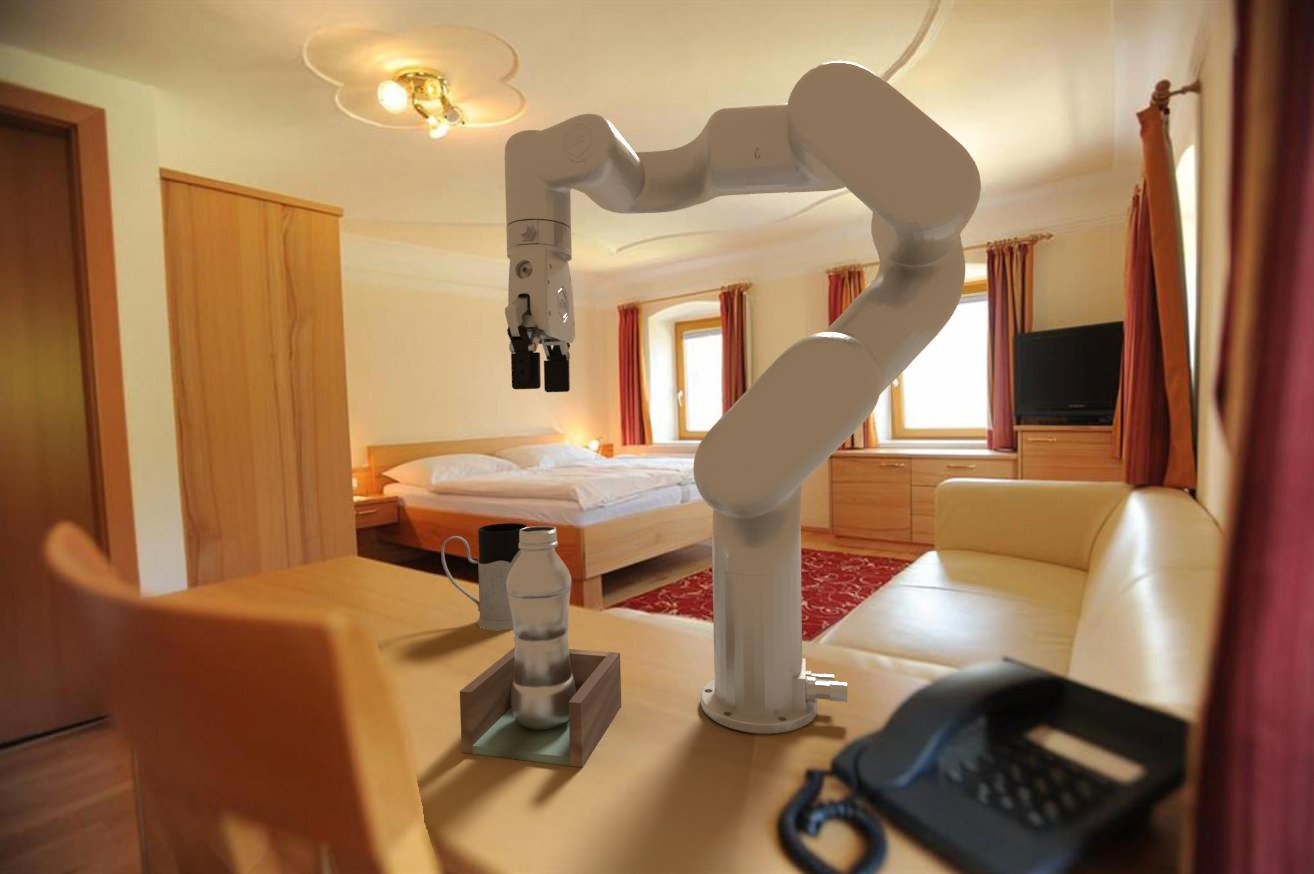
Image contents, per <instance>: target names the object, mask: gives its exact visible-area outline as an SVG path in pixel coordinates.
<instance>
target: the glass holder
mask: <svg viewBox="0 0 1314 874" xmlns="http://www.w3.org/2000/svg"><path fill="white" fill-rule="evenodd" d="M526 527H528V526H527V524H523V523H517V522H513V523H512V522H509V523H507V522H506V523H503V522H502V523H495V524H488V525H483V526H481V527H478V528H477V529H478V530H477V533H478V538H477V539H478V560H474V559H472V557H471V548H470V545H469V543H468V541H467V540H466V539H465V538H463V537H462V536H458V535H453V536H450V537H448V538H447V539H445V540H444V541H443V542H442V545H441V550H440V551H441V552H440V555H441V563H442V566H443V571H444V572H445V574H446V576H447V578H448V579H449V582H450V583H451V584H452V585H453V586H454V587H455V588H456V589H458V590H459V591H460V592H461V593H462V594H464V595H465V596H466V597H467V598H469V599H470V600H471V601H473V602H474V603H475V604H476V605H477V608H478V609H477V610H478V612H479V617H478V620H477V623H476V625H477V624H478V626H479V627H481V628H484V629H486V630H485V631H489V630H494V631H493V632H497V631H498V632H501V631H503V630H505V631H510V630H512V631H513V621H512V614H511V609H510V604H509V599H508V593H507V586H506V581H507V577H508V574H509V572H510V570H511V568H512V567H513V565H514V563H515V562H516V561H517V559H518V558H519V556H520V555H521V552H522V549H519V542H520V537H519V532H520V529H522V528H526ZM453 539H454V540H455V539H458V540H460V541H461V542H462V543H463V544H464V546H465V548H466V549H465V550H466V556H467V559H468V561H469V563H472V564H477V565H478V566H477V567H478V572H477V573H478V594H479V595H478V596H479V597H478V599H479V600H478V599H476V598H475V597H474V596H473V595H472V594H471V593H469V592H468V591H466V590H465V589H464V588H463V587H462V586H461V585H460V584H458V582H456V580H455V579H454V578H453V576H452V575H451V572H450V570H449V569H448V566H447V562H446V558H445V546H446V545H447V542H449V541H450V540H453ZM478 626H477V627H478ZM479 627H478V628H479ZM481 628H480V629H481ZM484 629H483V630H484ZM503 632H504V631H503Z"/></svg>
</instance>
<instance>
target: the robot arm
mask: <svg viewBox="0 0 1314 874" xmlns="http://www.w3.org/2000/svg"><path fill="white" fill-rule="evenodd" d="M504 147H505V148H504V183H505V184H504V185H505V187H504V188H505V189H504V190H505V214H506V217H505V219H506V220H505V221H506V227H505V228H506V257H507V259H509V268H508V291H507V292H508V295H507V296H508V298H507V301H508V302H507V303H508V304H507V306H506V307H505V308H504V315H505V319H506V323H507V326H508V327H507V330H506V332H507V333H506V334H507V335H508V338H509V340H510V341H509V346H508V349H509V352H510V359H511V360H510V361H511V363H510V364H511V368H510V370H511V387H512V389H513V390H538V389H540V388H541V386H542V385H541V378H542V377H541V352H538V351H537V349H538V347H539V345H542V348H543V350H544V354H545V358H546V360H543V377H544V378H543V380H544V382H543V383H544V385H543V386H544V392H546V393H567V392H570V390H571V387H570V385H571V384H570V383H571V381H570V377H571V376H570V357H571V355H570V354H571V353H570V351H569V350H570V348H571V343H573V342H574V341H575V339H576V324H575V309H574V308H575V307H574V294H573V285H572V278H571V277H572V276H571V271H570V266H569V262H570V261H572V258H573V257H572V256H573V255H572V253H573V252H572V249H573V248H572V213H571V212H572V209H571V203H572V202H571V190H576V191H578V192H580V193H583V194H584V195H585V196H586V197H588V198H589V199H590V200H591V201H592V202H593V203H595V204H596V205H597V206H598V207H599V208H600V209H602V210H606V211H607V212H611V213H617V214H630V215H631V214H633V215H634V214H655V213H656V214H658V213H669V212H670V213H671V212H676V211H679V210H685V209H687V208H692V207H694V206H698V205H701V204H704V203H706V202H709V201H711V200H714V199H716V198H718V197H725V196H742V195H743V196H744V195H756V194H760V195H761V194H778V193H779V194H780V193H782V194H783V193H788V194H789V193H808V192H809V193H812V192H813V193H814V192H831V191H836V190H840V189H844V188H846V189H847V190H848V191H849V192H850V193H851V194H853V195H854V196H855V197H856V198H857V199H858V200H860V202H861V203H863V204H864V205H865V207H867V208H868V209H869V210H870V211H871V212H872V217H871V222H870V223H871V225H870V228H871V230H870V231H871V236H872V241H873V244H874V247H875V250H876V252H877V255H878V258H879V259H878V261H879V266H878V271H877V273H876V275H875V277H874V278H873V280H872V281H871V282H870V284H869V285H867V287H866V288H864V289H863V290H862V291H861V292H860V293H859V294H858V295H857V296H856V297H855V298H854V300H853V301H852V302H851V303H850V304H849V305H848V307H847V308H846V309H845V310H844V311H843V312H842V313H841V314H840V315H839V316H838V317H837V318H836V319H834V321H833V322H832V323H831V324H830V325H829V326H828V327H827V328H826V330H824V331H823V332H817V333H813V334H810V335H808V336H805V337H803V338H801V339H799V340H797V341H796V342H794V343H793V344H792V345H791V346H789V347H788V348H787V349H786V350H785V351H784V352H782V353H781V354H780V355H779V356H778V357H777V358H776V359H775V360H774V361H773V362H772V363H771V365H769V366H768V367H767V369H766V370H764V371H763V373H762V374H761V375H760V376H759V377H758V378H757V379H756V381H754V383H752V385H751V386H750V387H749V388H747V390H745V392H744V393H743V394H742V395H741V396H740V397H739V398H738V399H737V400H736V401H735V402H734V403H733V404H732V406H731V407H729V409H728V410H727V411H726V412H725V413H724V414H723V415H722V416H721V417H720V418H719V420H717V421H716V423H715V424H714V425H713V426H712V427H711V428H710V429H709V430H708V431H707V432H706V434H705V435H704V436H703V437H702V439H701V441H700V443H699V445H697V449H696V452H695V453H694V454H695V455H694V460H693V468H692V469H693V470H692V471H693V477H694V478H693V479H694V483H695V486H696V489H697V491H698V493H699V495H700V497H701V498H702V499H703V501H704V502H705V503H706V504H707V505H708V506H709V507H710V508H712V509H713V512H712V531H711V534H712V537H711V541H712V547H711V548H712V549H711V551H712V557H711V558H712V604H713V605H712V609H713V610H712V611H713V612H712V615H713V618H712V619H713V657H714V660H713V663H714V669H713V670H714V673H713V674H714V679H712V680H710V681H709V682H708V683H706V684H705V685H704V687H703V688H702V690H701V692H700V705H701V709H702V711H703V712H704V714H706V715H707V716H708V717H709V718H710V719H711V720H712V721H714V722H716V723H718V724H720V725H721V726H724V727H726V728H729V729H733V730H736V731H739V732H746V733H750V734H765V735H767V734H770V735H771V734H779V733H780V734H781V733H787V732H792V731H794V730H798V729H800V728H802V727H805V726H806V725H808V724H810V722H812V721H813V720H814V719H815V718H816V717H817V714H818V712H819V705H818V704H819V703H818V700H825V701H826V700H827V701H828V700H829V701H831V702H839V703H848V683H847V682H845V681H844V682H843V681H835V674H833V673H814V672H813V673H812V670H810V669H809V670H808V669H807V667H806V665H807V664H806V662H807V661H806V659H807V658H806V657H805V658H804V657H803V626H802V625H803V622H802V621H803V620H802V617H803V616H802V613H803V612H802V611H803V610H802V605H803V604H802V543H801V542H802V484H803V483H804V482H805V481H806V480H807V479H808V478H809V477H810V476H811V475H812V474H813V473H814V472H815V471H816V470H817V469H819V468H820V467H821V466H822V464H824V462H826V461H827V460H828V458H829V457H831V456H832V455H833V454H834V453H835V452H836V451H837V450H838V449H839V448H840V447H841V446H842V445H843V444H844V443H845V442H846V441H847V440H848V439H850V437H852V435H853V434H854V433H855V432H856V431H857V430H858V429H859V428H860V427H861V426H862V425H864V423H865V422H866V421H867V420H868V418H869V417H870V416H871V414H872V413H873V411H874V410H875V408H876V407H877V404H878V402H879V399H880V395H881V394H883V392H884V391H886V390H887V388H888V387H889V386H890V385H891V384H892V383H893V382H894V381H895V380H896V379H897V378H898V377H899V376H900V375H901V374H902V373H903V372H904V371H905V370H906V369H907V368H908V367H909V366H910V365H911V364H912V363H913V362H914V360H915V359H916V358H917V357H918V356H919V355H920V354H921V353H922V352H923V351H924V350H925V349H926V348H927V346H928V345H930V343H931V342H932V341H933V340H934V339H935V338H936V337H937V336H938V335H939V333H940V332H941V331H942V330H943V329H944V328H945V326H946V324H948V322H949V321H950V320H951V318H952V317H953V315H954V313H955V312H956V310H957V308H958V306H959V304H960V301H961V297H962V294H963V290H964V285H965V279H966V260H965V253H964V248H963V243H962V237H961V234H962V232H963V231H964V229H965V228H966V226H967V225H968V224H969V222H970V220H971V219H972V217H973V215H974V214H975V212H976V210H977V207H978V204H979V201H980V197H981V189H982V181H981V175H980V172H979V169H978V166H977V164H976V162H975V160H974V158H973V157H972V156H971V153H970V152H969V150H967V149H966V148H965V146H964V145H963V144H961V142H959V141H958V139H956V138H955V137H954V136H953V135H951V134H950V133H949V132H948V131H947V130H945V129H944V128H943V127H942V126H940V125H939V123H937V122H936V121H934V120H933V119H932V117H930V116H929V115H927V114H926V113H925V112H924V111H923V110H921V109H920V108H919V107H918V106H917V105H915V104H914V103H913V102H912V101H911V100H910V99H908V98H907V97H905V96H904V94H902V93H901V92H900V91H898V90H897V89H896V88H895V87H894V86H892V85H891V84H890V83H888V81H886V80H885V79H884V78H882V77H881V76H879V75H878V74H876V73H875V72H873V71H872V70H870V69H868V68H867V67H864V66H862V65H860V64H857V63H855V62H850V61H842V60H839V61H838V60H837V61H830V62H824V63H822V64H819V65H817V66H815V67H813V68H811V69H810V70H808V71H807V72H805V73H804V74H803V75H802V76H801V77H800V79H798V81H797V82H796V83H795V85H794V87H793V89H792V90H791V92H790V94H789V97H788V101H787V103H778V104H776V103H775V104H766V105H765V104H763V105H751V106H749V105H748V106H741V107H740V106H739V107H726V108H724V107H723V108H722V109H721V108H720V109H718V110H716V111H715V112H714V113H713V114H711V115H710V117H709V119H708V121H707V122H706V124H705V126H704V127H703V129H702V130H701V132H700V133H699V134H698V135H697V136H696V138H694V139H692V140H691V141H689V143H687V144H684V145H682V146H679V147H676V148H672V149H666V150H657V151H638V152H637V151H634V150H633V149H632V148H631V146H630V145H629V144H628V142H627V141H626V139H625V138H624V137H623V136H622V135H621V134H620V132H619V131H618V130H617V129H616V127H615V126H614V125H613V124H612V123H611V122H610V121H609V120H608V119H607V118H605V117H604V116H601V115H599V114H596V113H583V114H579V115H576V116H572V117H570V118H568V119H566V120H563V121H562V122H560V123H557V124H554V125H552V126H549V127H546V128H545V129H541V130H539V129H527V130H521V131H518V132H516V133H514V134H512V135H511V136H510V137H509V138H508V139H507V141H506V143H505V146H504ZM536 351H537V352H536Z"/></svg>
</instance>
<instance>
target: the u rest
mask: <svg viewBox="0 0 1314 874" xmlns="http://www.w3.org/2000/svg"><path fill="white" fill-rule="evenodd" d="M569 655H570V663H571V672H572V674H573V678H574V682H575V687H576V694H575V695H574V696H573V697H572V698H571V700H570V701H569V720H568V721H567V722H565V723H564V724H562V725H560V726H557V727H554V728H550V729H542V730H535V729H529V728H525V727H523V726H522V725H520V724H519V722H518V721H517V720H516V719H515V717H514V715H513V711H512V706H511V701H510V700H511V689H512V683H513V679H514V659H515V646H514V647H513V648H512V649H511V650H509V651H508V652H506V653H505V654H504V655H503V656H502V657H501V658H499V659H498V660H497V661H495V662H494V663H493V664H492V665H491V666H489V667H488V668H487V669H485V670H484V671H483V672H482V673H481V674H479V675H478V676H477V677H475V679H473V680H472V681H471V682H469V683H468V684H466V686H464V687H463V688H462V689H460V690H459V705H460V706H459V712H460V713H459V715H460V716H459V717H460V741H461V742H460V743H461V745H460V746H461V753H462V754H471V755H478V756H479V755H480V756H488V757H496V758H504V759H513V760H518V761H519V760H520V761H528V762H537V763H545V764H551V765H552V764H553V765H558V766H559V765H560V766H567V767H568V766H569V767H576V768H584V765H585V764H586V763H587V761H588V760H589V758H590V757H591V755H592V753H593V752H594V751H595V749H596V747H597V745H598V744H599V743H600V740H601V739H602V737H603V736H604V734H605V733H606V731H607V730H608V728H609V727H610V725H611V723H612V722H613V720H614V718H615V717H616V715H617V714H618V712H619V711H620V709H621V707H622V682H621V681H622V679H621V676H622V673H621V652H615V651H614V652H611V651H602V650H601V651H600V650H588V649H587V650H586V649H575V648H569Z"/></svg>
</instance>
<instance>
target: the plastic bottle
mask: <svg viewBox="0 0 1314 874" xmlns="http://www.w3.org/2000/svg"><path fill="white" fill-rule="evenodd" d="M519 537H520V542H519V549H522V552H521V555H520V556H519V558H518V559H517V561H516V562H515V563H514V565H513V567H512V568H511V570H510V572H509V574H508V577H507V581H506V586H507V593H508V599H509V604H510V609H511V614H512V621H513V629H512V631H513V635H514V637H513V641H514V647H515V659H514V679H513V683H512V689H511V700H510V701H511V706H512V711H513V715H514V717H515V719H516V720H517V721H518V722H519V724H520V725H522V726H523V727H525V728H529V729H535V730H542V729H550V728H554V727H557V726H560V725H562V724H564V723H565V722H567V721H568V720H569V701H570V700H571V698H572V697H573V696H574V695H575V694H576V687H575V682H574V678H573V674H572V672H571V663H570V655H569V649H570V648H569V632H568V630H569V612H570V610H569V609H570V599H571V588H572V577H571V574H570V570H569V568H568V567H567V565H566V564H565V562H564V561H563V560H562V559H561V557H560V556H559V554H558V553H557V552H556V548H557V547H558V546H559V545H558V544H559V541H558V540H557V537H558V536H557V527H555V526H552V525H549V526H548V525H535V526H527V527H526V528H522V529H520V532H519Z"/></svg>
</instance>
